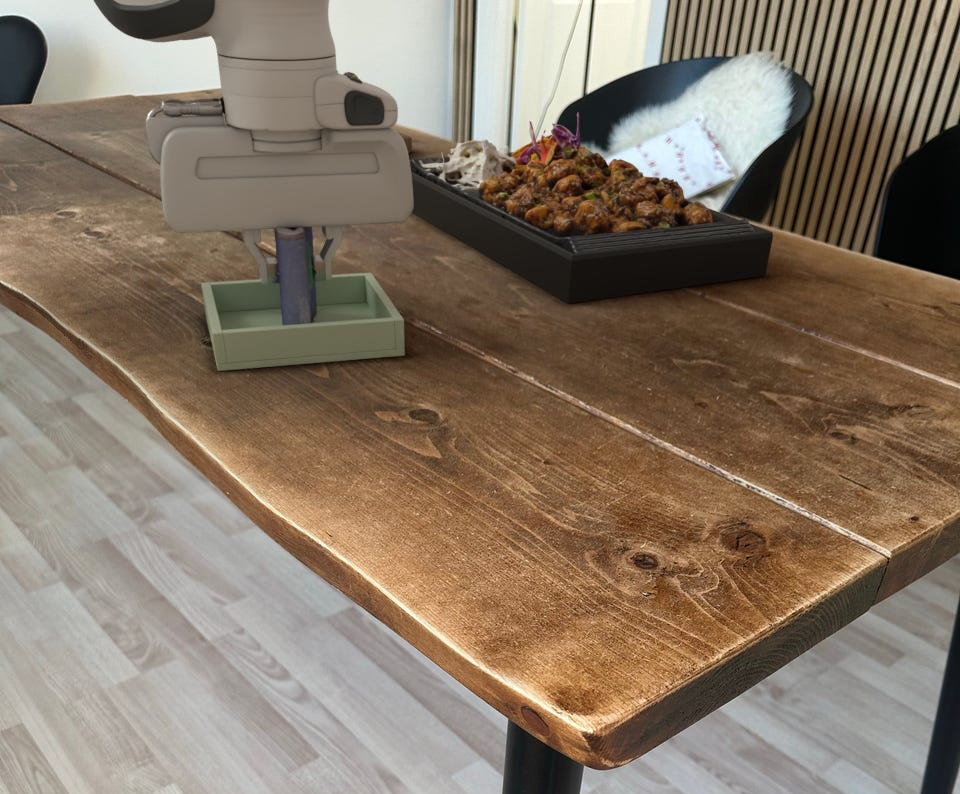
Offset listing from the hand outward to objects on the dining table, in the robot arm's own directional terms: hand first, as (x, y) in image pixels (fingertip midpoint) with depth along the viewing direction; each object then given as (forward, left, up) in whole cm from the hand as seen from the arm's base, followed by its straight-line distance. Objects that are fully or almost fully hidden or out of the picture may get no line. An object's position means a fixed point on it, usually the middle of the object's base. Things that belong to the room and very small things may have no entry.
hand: (296, 280), depth 83 cm
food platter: (+35, +27, -5) cm, 45 cm away
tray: (0, 0, -5) cm, 5 cm away
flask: (0, +1, -4) cm, 4 cm away
